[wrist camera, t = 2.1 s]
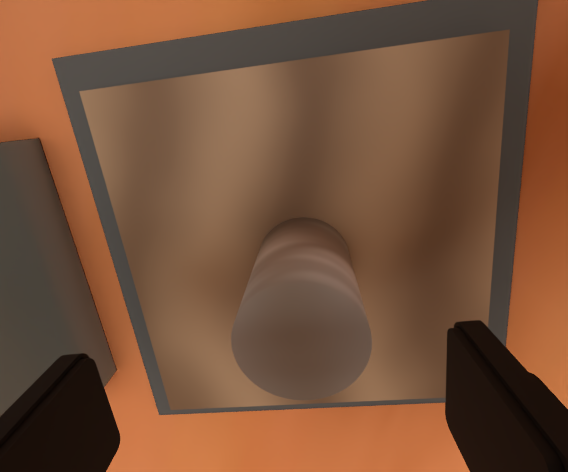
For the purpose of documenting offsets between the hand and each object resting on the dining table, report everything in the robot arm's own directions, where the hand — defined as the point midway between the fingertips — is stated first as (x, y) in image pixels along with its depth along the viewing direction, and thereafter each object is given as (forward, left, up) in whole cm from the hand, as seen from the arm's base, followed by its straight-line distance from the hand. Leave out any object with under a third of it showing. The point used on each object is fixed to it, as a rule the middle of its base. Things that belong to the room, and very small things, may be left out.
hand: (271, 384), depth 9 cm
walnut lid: (-1, 0, -8) cm, 8 cm away
